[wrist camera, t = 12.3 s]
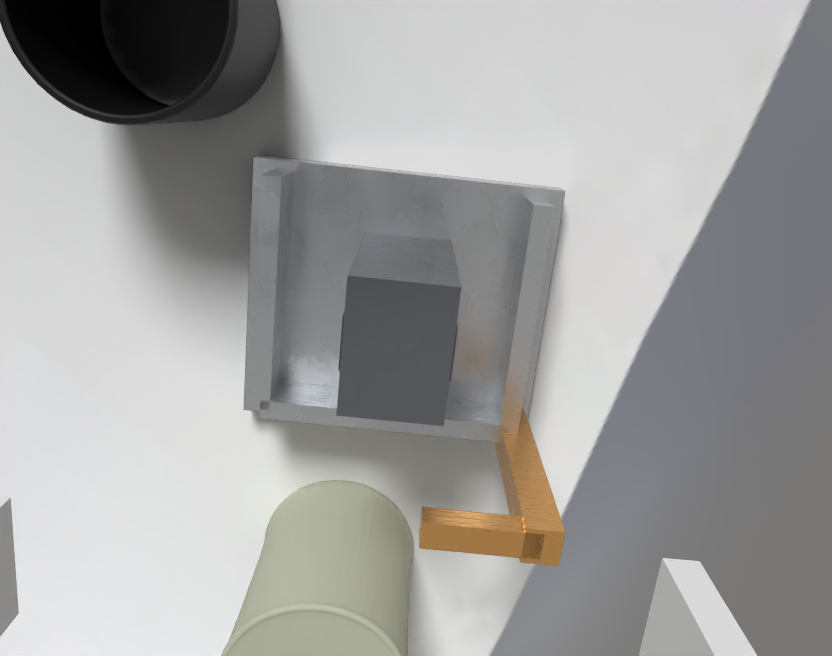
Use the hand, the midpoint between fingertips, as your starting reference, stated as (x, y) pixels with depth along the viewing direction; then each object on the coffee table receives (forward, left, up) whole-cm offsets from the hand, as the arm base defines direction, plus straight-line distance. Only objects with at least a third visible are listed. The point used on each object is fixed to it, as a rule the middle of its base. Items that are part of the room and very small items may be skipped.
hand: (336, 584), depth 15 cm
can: (-2, -17, -27) cm, 32 cm away
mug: (-11, +13, -27) cm, 32 cm away
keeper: (+1, -1, -27) cm, 27 cm away
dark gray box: (+1, 0, -25) cm, 25 cm away
